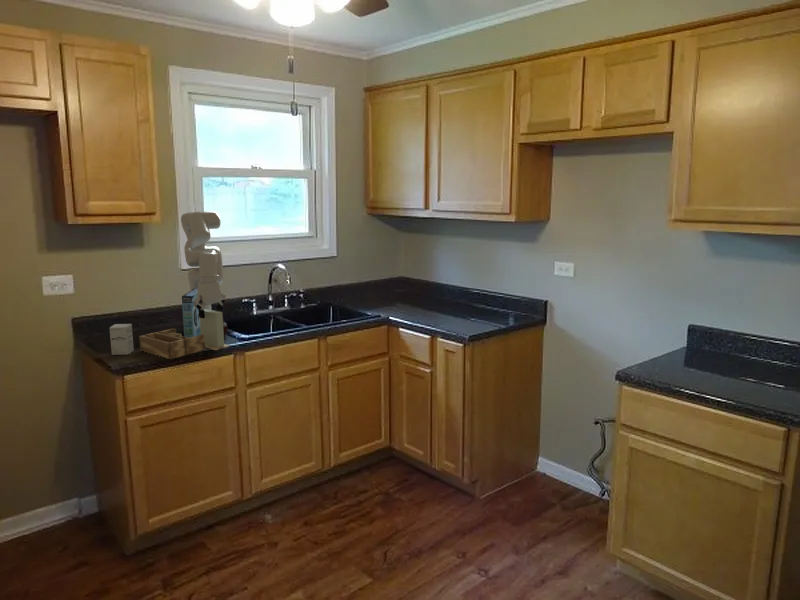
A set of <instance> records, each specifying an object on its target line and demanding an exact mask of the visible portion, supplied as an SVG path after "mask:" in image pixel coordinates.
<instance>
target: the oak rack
mask: <svg viewBox="0 0 800 600" xmlns="http://www.w3.org/2000/svg"><path fill="white" fill-rule="evenodd" d="M169 333H177V328H176V327H175V328H170V329H165V330H161V331H156V332H150V333H147V334H143V335H138V340H139V351H140V352H142V351H144V352H143V353H146V352H147V354H149V353H151V354H150V355H153V354H155V355H154V356H157V355H159V356H158V357H160V356H162V357H161V358H164V357H165V359H167V360H168V359H169V360H172V359H177V358H180V357H183V356H187V355H191V354H194V353H198V351H199V352H202V351H201V350H203V351H205V350H206V348H205V339H204V335H198V336H194V337H190V338H188V337H184V335H182V338H178V337H174V336H170V335H166V334H169ZM204 349H205V350H204Z"/></svg>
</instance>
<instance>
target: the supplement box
mask: <svg viewBox="0 0 800 600" xmlns="http://www.w3.org/2000/svg"><path fill="white" fill-rule="evenodd" d="M133 335H134V334H133V324H132V323H115V324H113V325H111V326H110V327H109V339H110V348H111V355H112V356H113V355H118V356H119V355H120V356H121V355H122V356H124V355H126V356H127V355H128V354H129V355H130V354H131V353H132V352H134V338H133V337H134V336H133ZM129 355H128V356H129Z"/></svg>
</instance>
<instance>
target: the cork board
mask: <svg viewBox="0 0 800 600" xmlns="http://www.w3.org/2000/svg"><path fill="white" fill-rule="evenodd" d="M229 347H231V344H225V343H224V346H222V347H219V348H217V347H213V346H209V345H205V349H207V348H210V349H209V350H213V351H218V350H223V349H226V348H229Z"/></svg>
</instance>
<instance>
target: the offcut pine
mask: <svg viewBox="0 0 800 600" xmlns="http://www.w3.org/2000/svg"><path fill="white" fill-rule="evenodd" d="M166 335H170V336H174V337H178V338H182V336H183V335H182V333H177V332H176V333H169V334H166Z"/></svg>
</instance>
